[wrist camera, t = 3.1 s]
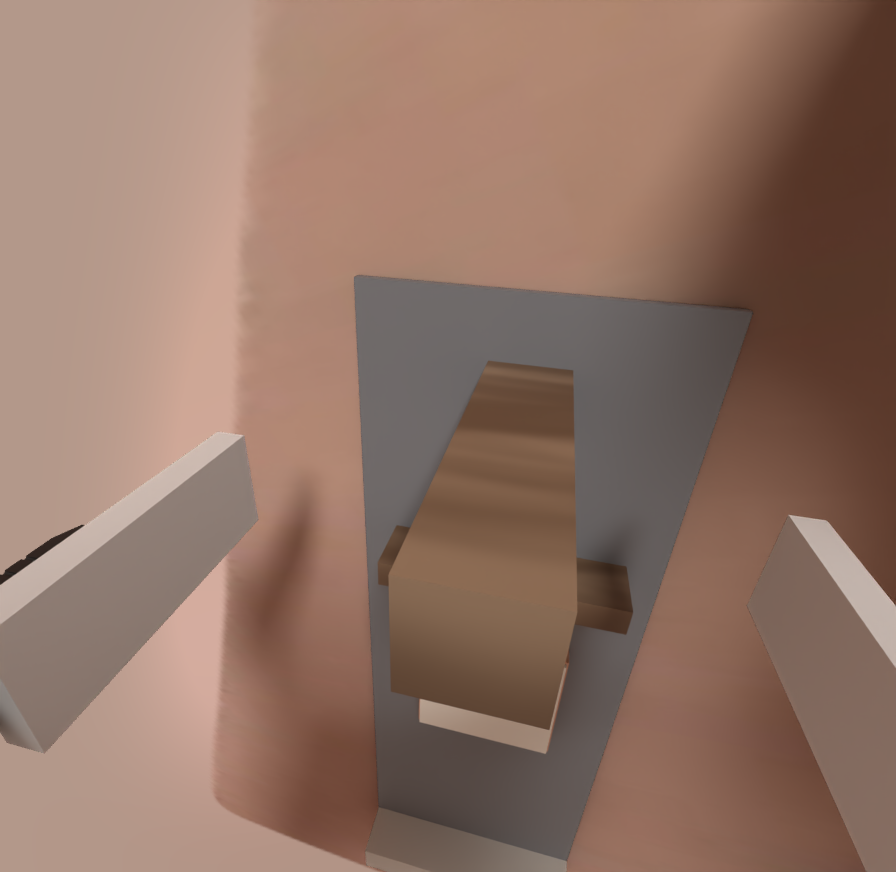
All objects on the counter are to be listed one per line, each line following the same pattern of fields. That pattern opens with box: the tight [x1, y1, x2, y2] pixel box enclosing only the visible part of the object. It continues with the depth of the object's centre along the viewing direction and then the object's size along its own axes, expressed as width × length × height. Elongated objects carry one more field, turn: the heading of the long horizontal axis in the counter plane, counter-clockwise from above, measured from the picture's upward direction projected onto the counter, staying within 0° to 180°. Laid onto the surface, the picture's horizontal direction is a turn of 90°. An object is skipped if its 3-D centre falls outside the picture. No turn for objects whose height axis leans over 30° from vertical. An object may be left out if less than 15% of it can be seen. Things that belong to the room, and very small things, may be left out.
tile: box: [419, 650, 569, 754], centre depth 25 cm, size 7×7×1 cm
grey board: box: [354, 275, 753, 872], centre depth 24 cm, size 38×13×3 cm, turn 177°
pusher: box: [378, 361, 633, 730], centre depth 15 cm, size 9×10×11 cm
